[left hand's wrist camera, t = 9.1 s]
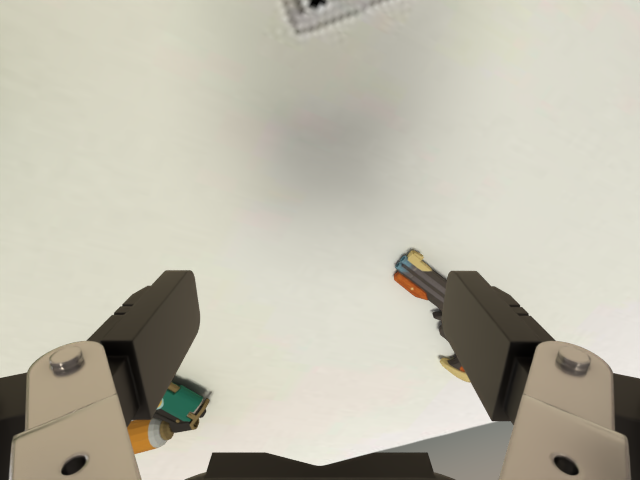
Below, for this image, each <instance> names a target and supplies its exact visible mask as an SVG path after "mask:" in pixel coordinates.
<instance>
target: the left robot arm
mask: <svg viewBox="0 0 640 480" xmlns="http://www.w3.org/2000/svg"><path fill="white" fill-rule="evenodd" d="M122 305H123V306H120V307H119V308H118V309H117V310H116V311H115V313H114V315H112V316H111V317H110V318H109V319H108V320H107V321H106V322H105V323H104V324H103V325H102V326H101V327H100V328H99V329H98V330H97V331H96V332H95V333H94V334H93V335H92V336H91V337H90V338H89V339H88V340H87V341H80V342H74V343H70V344H66V345H63V346H61V347H58V348H56V349H53V350H51V351H50V352H48V353H46V354H44V355H43V356H41V357H40V358H39V359H37V360H36V361H35V362H34V363H33V364H32V365H31V366H30V368H29V370H28V372H27V373H23V374H18V375H13V376H8V377H3V378H0V480H141V476H140V472H139V469H138V465H137V462H136V458H135V455H134V451H133V448H132V444H131V441H130V437H129V434H128V430H127V427H128V426H129V424H130V422H131V421H132V420H151V419H152V417H153V415H154V413H155V411H156V409H157V408H158V406H159V404H160V402H161V400H162V398H163V396H164V394H165V393H166V391H167V389H168V387H169V385H170V383H171V381H172V380H173V378H174V376H175V374H176V372H177V370H178V368H179V367H180V365H181V363H182V361H183V359H184V357H185V355H186V354H187V352H188V350H189V348H190V346H191V344H192V342H193V341H194V339H195V337H196V335H197V333H198V330H199V325H200V311H199V304H198V297H197V290H196V283H195V277H194V274H193V272H192V271H191V270H166V271H165V272H164V273H163V274H162V275H161V276H160V277H159V278H158V279H157V280H156V281H155V282H154V283H153V284H152V285H151V286H147V287H145V288H143V289H141V290H139V291H138V292H136V293H134V294H132V295H131V296H130V297H129V298H128V299H127V300H126V301H125V302H124V303H123V304H122ZM442 327H443V331H444V334H445V336H446V338H447V340H448V341H449V343H450V345H451V347H452V349H453V351H454V352H455V354H456V356H457V358H458V360H459V362H460V363H461V365H462V367H463V369H464V371H465V373H466V374H467V376H468V378H469V380H470V382H471V384H472V385H473V387H474V389H475V391H476V393H477V395H478V396H479V398H480V400H481V402H482V404H483V406H484V408H485V409H486V411H487V413H488V415H489V417H490V419H491V420H492V421H511V422H512V423H513V425H514V427H513V430H512V434H511V437H510V441H509V444H508V448H507V451H506V455H505V458H504V462H503V465H502V469H501V472H500V476H499V480H640V379H639V378H634V377H629V376H624V375H620V374H615V373H613V372H612V370H611V368H610V366H609V365H608V364H607V363H606V362H605V361H604V360H603V359H601V358H600V357H599V356H597V355H596V354H594V353H592V352H590V351H589V350H587V349H584V348H582V347H579V346H577V345H574V344H570V343H566V342H560V341H555V340H554V339H553V338H552V337H551V336H550V335H549V334H548V333H547V332H546V331H545V330H544V329H543V328H542V327H541V326H540V325H539V324H538V323H537V322H536V321H535V320H534V319H533V318H532V317H531V316H529V315H528V313H527V312H526V311H525V310H524V309H523V308H522V307H520V305H519V304H518V303H517V302H516V301H515V300H514V299H513V298H512V297H511V296H510V295H509V294H507V293H505V292H504V291H502V290H500V289H498V288H496V287H495V286H490V285H489V284H488V282H487V281H486V280H485V279H484V278H483V277H482V276H481V275H480V274H479V273H478V272H477V271H450V273H449V274H448V277H447V283H446V290H445V297H444V303H443V310H442ZM185 480H455V479H453V478H450V477H447V476H444V475H442V474H438V473H435V472H433V469H432V465H431V462H430V459H429V456H428V453H371V454H367V455H363V456H360V457H356V458H352V459H348V460H344V461H340V462H336V463H333V464H329V465H324V466H316V465H311V464H307V463H304V462H300V461H296V460H292V459H288V458H284V457H280V456H277V455H273V454H269V453H212V456H211V459H210V462H209V465H208V469H207V472H205V473H202V474H198V475H196V476H193V477H190V478H187V479H185Z"/></svg>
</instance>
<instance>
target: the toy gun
mask: <svg viewBox="0 0 640 480" xmlns="http://www.w3.org/2000/svg"><path fill="white" fill-rule="evenodd" d="M423 258H424V257H423V255H422V254H420V253H418V252H416V251H414V250H413V251H411V252H410V253H409V254H408V255H407V256H403V257H402V258H401V260H400V262H398V263H397V264H396V266H395V268H396V269H397V271H398V272H397V273H396V274H395V275H394V280H395V281H396V282H397V283H399V284H400V285H401V286H402V287H404V288H405V289H406V290H407V291H409V292H410V293H411V294H412V295H414V296H415V297H418V298H421V299H425V300H429V301H430V302H432V303H433V304H434V305H436V306H437V307H438V308H439V309H440V310H441V311H440V312H433V313H432V314H433V317H434V318H435V319H438V320H441V321H442V310H443V303H444V297H445V290H446V283H447V281H446V280H445V279H444V278H443V277H441V276H440V275H439V274H437V273H436V272H435V271H434V270H432V269H431V268H430V267H429V266H428V265H427V264H425V263H424V262H423V261H422V259H423ZM439 332H440V335H441V336H442V337H444V338H445V339H446V340H447V338H446V336H445V334H444V331H443V327H442V325H441V326H440V328H439ZM447 341H448V340H447ZM448 342H449V341H448ZM440 363H441V364H442V366H443V367H444V368H446V369H447V370H448V371H449V372H451V373H452V374H453V375H455V376H456V377H458V378H459V379H461V380H463V381H466V382H470V380H469V378H468V376H467V374H466V373H465V371H464V369H463V367H462V365H461V363H460V362H459V360H458V358H457V357H456V358H454V359H451V360H450V359H447V358H442V359H441V360H440Z"/></svg>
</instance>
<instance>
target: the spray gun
mask: <svg viewBox="0 0 640 480" xmlns="http://www.w3.org/2000/svg"><path fill="white" fill-rule="evenodd" d="M202 402H203V397H202V396H200V395H198V394H197V393H195V392H193V391H191V390H190V389H188V388H186V387H184V386H183V385H180V386H178V385H177V384H175V383H173V382H171V383H170V385H169V387H168V389H167V391H166V393H165V394H164V396H163V398H162V400H161V402H160V404H159V406H158V408H157V409H156V411H155V413H154V415H153V417H152V419H151V420H134V421H131V422H130V424H129V426H128V427H127V430H128V434H129V437H130V441H131V444H132V448H133V451H134V454H137V453H141V452H144V451H148V450H152V449H156V448H158V447H161V446H162V445H164V444H165V443H166V442H167V440H169V439H171V438H172V436H173V434H174V433H177V432H182V431H188V430H194V429H196V428H197V427H198V424H199V418H201V417H203V416H204V415H205V413H206V407H207V405H208V403H209V399H208V398H206V400H205V401H204V402H203V404H202ZM201 404H202V405H201ZM200 405H201V406H200Z"/></svg>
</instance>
